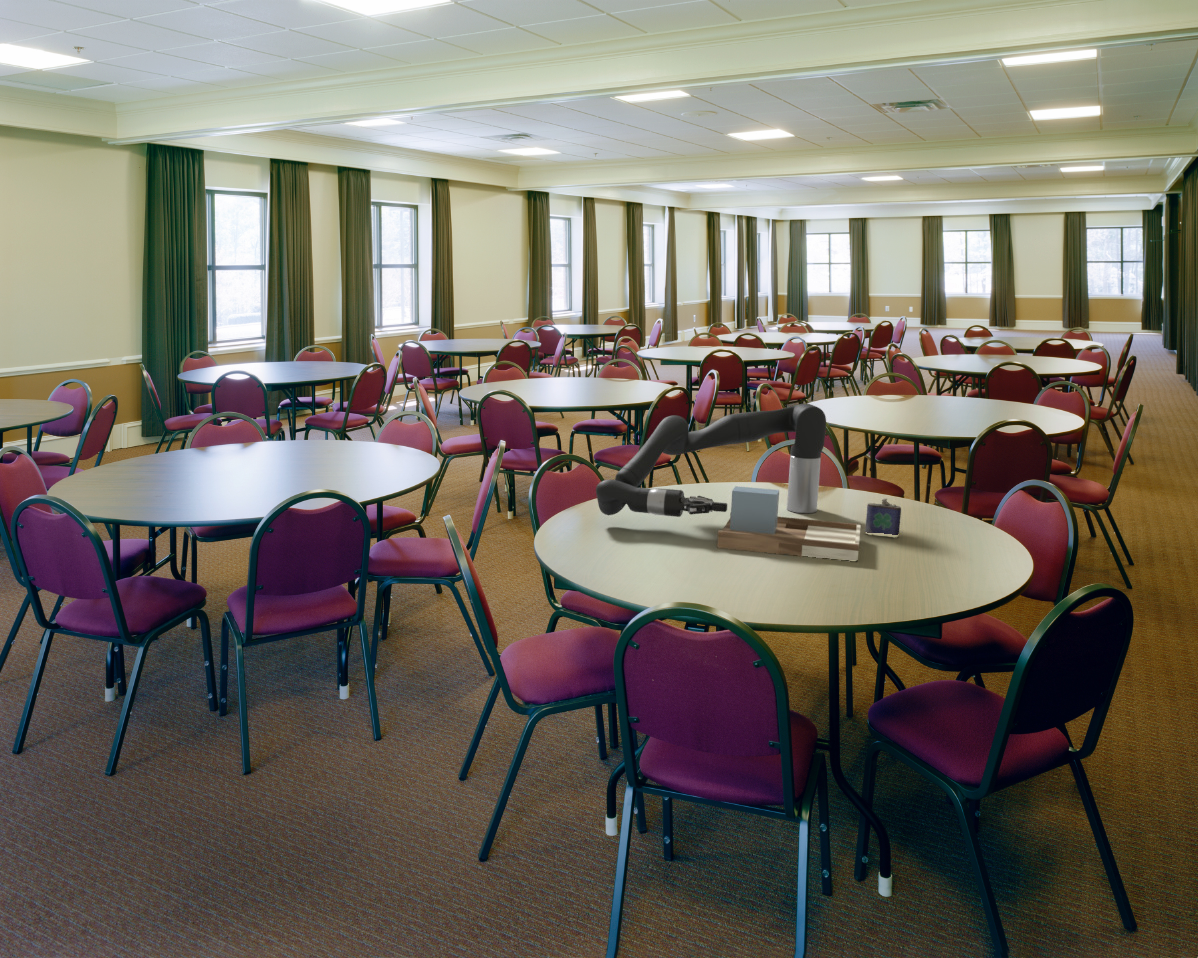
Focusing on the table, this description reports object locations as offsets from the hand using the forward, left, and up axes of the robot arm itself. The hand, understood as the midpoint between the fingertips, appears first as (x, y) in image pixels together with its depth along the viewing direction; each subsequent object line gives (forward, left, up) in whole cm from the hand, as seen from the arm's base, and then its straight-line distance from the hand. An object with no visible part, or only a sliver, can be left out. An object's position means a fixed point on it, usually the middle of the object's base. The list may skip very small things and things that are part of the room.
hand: (726, 507), depth 245 cm
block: (0, +8, -5) cm, 9 cm away
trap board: (0, +18, -8) cm, 20 cm away
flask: (-18, +42, -9) cm, 46 cm away
